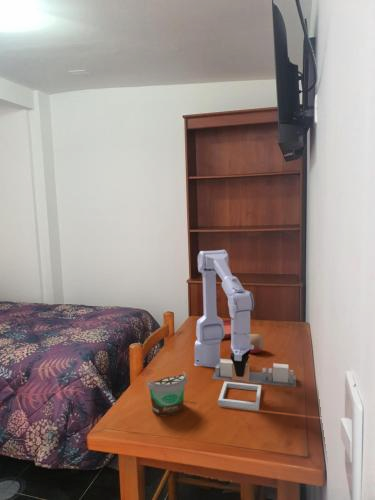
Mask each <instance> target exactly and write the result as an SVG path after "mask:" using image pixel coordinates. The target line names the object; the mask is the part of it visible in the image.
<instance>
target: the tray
mask: <svg viewBox="0 0 375 500" xmlns="http://www.w3.org/2000/svg"><path fill="white" fill-rule="evenodd" d="M227 388H230V389H239V390H240V389H241V390H246V391H247V390H249V391H256V396H255V398H256V399H255V402H254V401H253V402H252V401H245V400H237V399H229V398H228V399H227V398H225V395H226V392H227ZM261 394H262V384H255V383H245V382H236V381H226V380H224V381H223V385H222V388H221V390H220V394H219V397H218V399H217V404H218V405H217V406H218V407H223V408H231V409H236V410H237V409H239V410H246V411H256V412H259V411H260V404H261Z"/></svg>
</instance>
